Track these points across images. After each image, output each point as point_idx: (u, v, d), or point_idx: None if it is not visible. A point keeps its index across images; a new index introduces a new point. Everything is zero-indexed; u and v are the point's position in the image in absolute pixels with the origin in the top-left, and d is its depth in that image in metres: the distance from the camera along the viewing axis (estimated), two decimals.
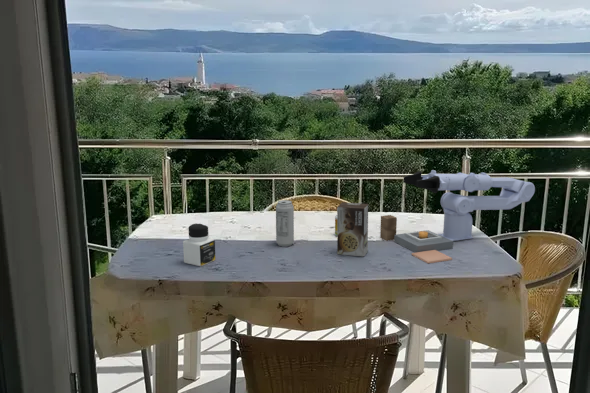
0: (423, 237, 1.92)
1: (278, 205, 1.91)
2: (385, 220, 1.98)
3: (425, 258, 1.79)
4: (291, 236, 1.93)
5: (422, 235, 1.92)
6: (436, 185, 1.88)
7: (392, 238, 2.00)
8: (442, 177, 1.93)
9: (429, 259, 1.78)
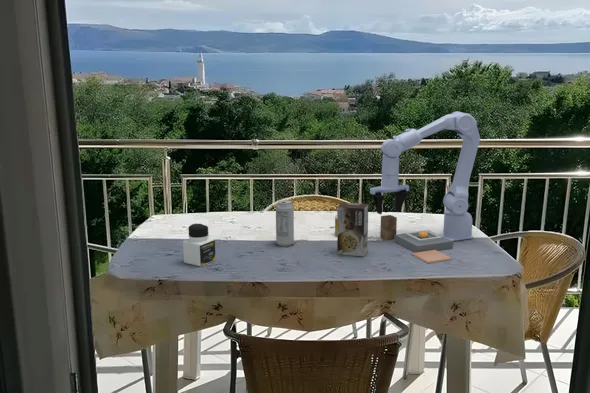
0: (423, 237, 1.92)
1: (278, 205, 1.91)
2: (385, 220, 1.98)
3: (425, 258, 1.79)
4: (291, 236, 1.93)
5: (422, 235, 1.92)
6: (375, 196, 1.96)
7: (392, 238, 2.00)
8: None
9: (429, 259, 1.78)
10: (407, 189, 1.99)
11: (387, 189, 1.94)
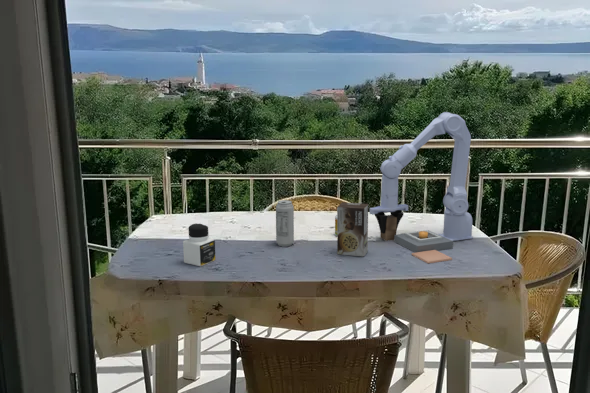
0: (423, 237, 1.92)
1: (278, 205, 1.91)
2: None
3: (425, 258, 1.79)
4: (291, 236, 1.93)
5: (422, 235, 1.92)
6: (378, 215, 1.98)
7: (392, 238, 2.00)
8: None
9: (429, 259, 1.78)
10: (406, 209, 2.01)
11: (386, 209, 1.96)
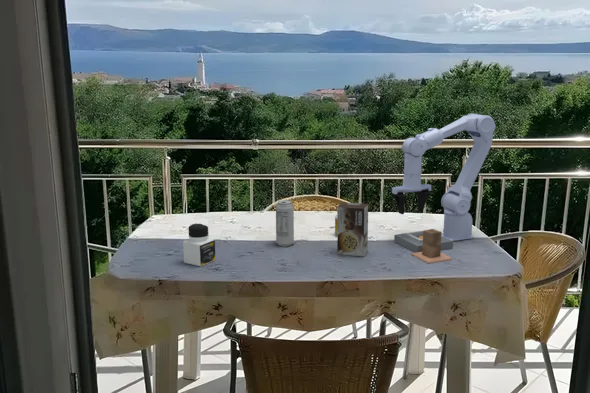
0: None
1: (278, 205, 1.91)
2: (430, 235, 1.78)
3: (425, 258, 1.79)
4: (291, 236, 1.93)
5: None
6: (397, 195, 1.92)
7: (437, 255, 1.80)
8: None
9: (429, 259, 1.78)
10: (429, 189, 1.95)
11: (409, 189, 1.91)
